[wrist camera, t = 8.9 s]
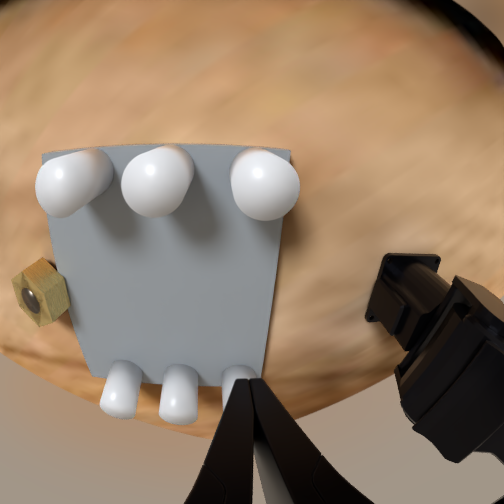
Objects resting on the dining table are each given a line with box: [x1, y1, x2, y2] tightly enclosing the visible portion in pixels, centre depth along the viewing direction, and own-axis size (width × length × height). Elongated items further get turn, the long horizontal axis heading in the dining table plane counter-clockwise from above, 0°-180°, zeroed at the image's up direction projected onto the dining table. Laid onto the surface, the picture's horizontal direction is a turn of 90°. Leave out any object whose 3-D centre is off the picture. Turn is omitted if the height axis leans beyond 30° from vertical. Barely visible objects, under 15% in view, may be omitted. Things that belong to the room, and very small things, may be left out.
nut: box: [11, 258, 71, 327], centre depth 17 cm, size 4×5×2 cm
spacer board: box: [35, 144, 300, 425], centre depth 18 cm, size 16×20×5 cm
